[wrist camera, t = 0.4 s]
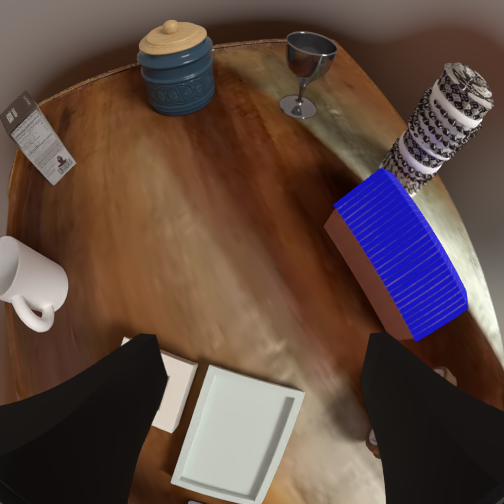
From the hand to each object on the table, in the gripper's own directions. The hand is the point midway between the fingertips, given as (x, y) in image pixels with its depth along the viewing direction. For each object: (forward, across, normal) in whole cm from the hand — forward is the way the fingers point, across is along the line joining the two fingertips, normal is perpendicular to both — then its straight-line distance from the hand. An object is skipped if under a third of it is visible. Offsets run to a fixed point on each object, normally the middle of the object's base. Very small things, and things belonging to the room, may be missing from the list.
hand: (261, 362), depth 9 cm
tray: (+13, +5, +26) cm, 30 cm away
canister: (+47, +17, -20) cm, 54 cm away
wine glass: (+48, -5, -16) cm, 51 cm away
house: (+31, -17, +9) cm, 36 cm away
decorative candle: (+41, -23, -3) cm, 47 cm away
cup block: (+17, +15, +19) cm, 30 cm away
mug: (+21, +33, +10) cm, 40 cm away
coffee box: (+36, +40, -10) cm, 54 cm away
